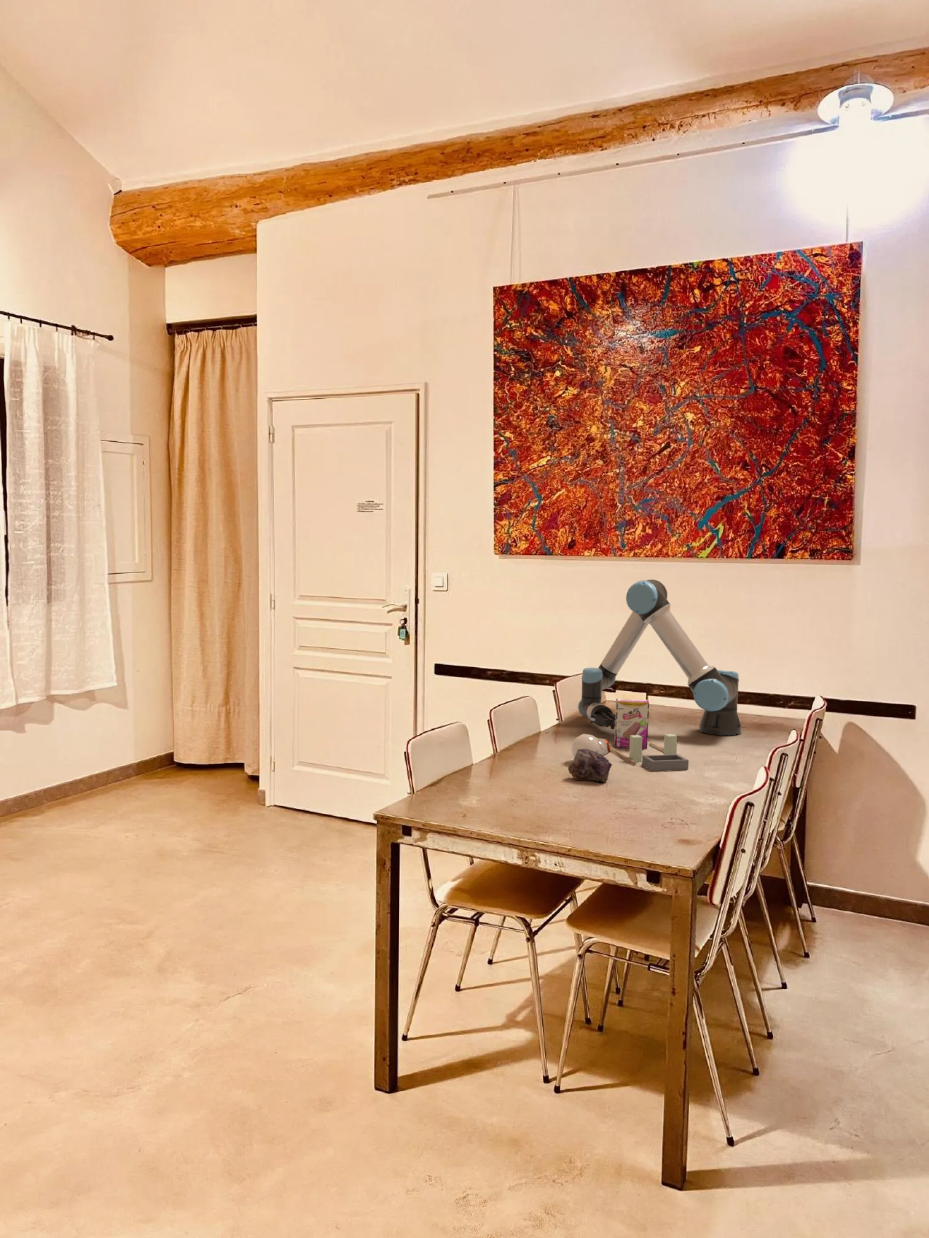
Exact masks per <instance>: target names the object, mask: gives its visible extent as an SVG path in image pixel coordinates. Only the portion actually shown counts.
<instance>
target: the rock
mask: <svg viewBox="0 0 929 1238" xmlns="http://www.w3.org/2000/svg"><path fill="white" fill-rule="evenodd" d="M612 765H613V764H612V763H611V762H610V760H609V759H607V757H605V756H603V755H601V754H599V753H597V752H594V751H591V750H589V749H579V750H577V753H576V755H575V758H574V757H573V761H571V764H569V765H568V767H567V768H568V769H567V770H568V772H569V774H570V775H571V776H572V779H574V780H576V781H588V782H591V781H597V782H600V783H607V781H608V779H609V775H610V774H609V773H610V770H611V768H612Z"/></svg>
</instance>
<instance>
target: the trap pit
mask: <svg viewBox="0 0 929 1238" xmlns="http://www.w3.org/2000/svg"><path fill="white" fill-rule="evenodd" d="M689 761H690V760H689V759H687V758H685V757H684V756H682V755H680V754H677V753H676V754H669V755H664V754H649V755H647V754H645V755H643V754H642V762H641V765H642V766H643V767H645V768H646V769H648V770H650V771H651V772H661V771H662V772H663V771H664V772H665V771H685V770H687V771H688V770H689Z"/></svg>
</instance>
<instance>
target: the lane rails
mask: <svg viewBox="0 0 929 1238" xmlns="http://www.w3.org/2000/svg"><path fill="white" fill-rule="evenodd" d="M649 746H652V747H653V748H655V749H656V750H658V751H659V752H662V753H664V746H662V745H659V744H657V743H656V742H653V741H649ZM609 747H610V752H611V753H613V754H615V755H616V756H618V757H620V758H621V759H622V760H624V761H626V762H627V763H629V764H631V765H632V766H637V762H636V761H634V760H632V759H631V758H629V756H628V755H626V754H624V753H623V752H621V751H619V750H617V748H615V747H613V746H611V745H610V744H609Z"/></svg>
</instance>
